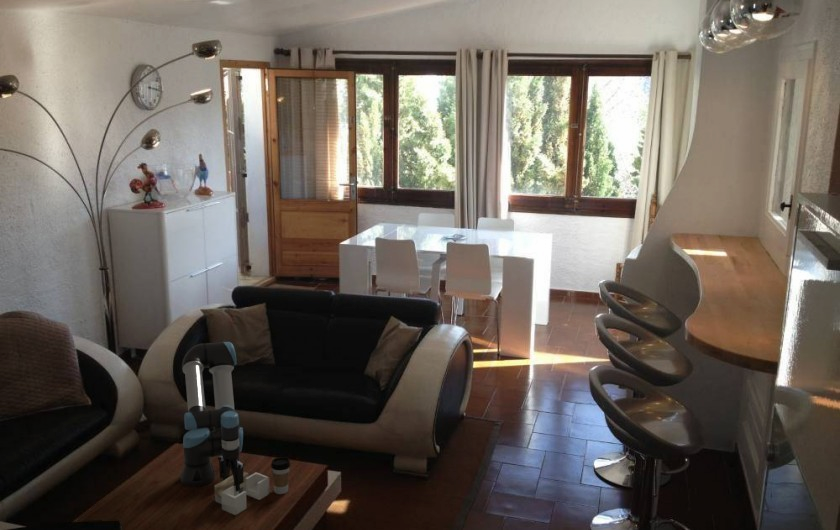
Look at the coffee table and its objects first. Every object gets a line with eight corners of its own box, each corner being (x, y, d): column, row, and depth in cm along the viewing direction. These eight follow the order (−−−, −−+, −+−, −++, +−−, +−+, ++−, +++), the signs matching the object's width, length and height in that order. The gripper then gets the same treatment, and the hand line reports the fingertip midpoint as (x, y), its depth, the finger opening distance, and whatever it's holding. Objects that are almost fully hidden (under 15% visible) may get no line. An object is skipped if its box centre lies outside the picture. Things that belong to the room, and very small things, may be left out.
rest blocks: (215, 501, 325) (215, 495, 324) (240, 486, 338) (240, 480, 337) (223, 504, 323) (223, 498, 322) (248, 489, 335) (248, 483, 334)
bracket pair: (221, 509, 319) (221, 492, 317) (256, 488, 337) (255, 472, 335) (235, 515, 315) (235, 498, 313) (269, 493, 333) (269, 477, 331)
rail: (214, 495, 324) (214, 485, 323) (241, 480, 337) (240, 470, 336) (222, 499, 322) (221, 488, 320) (248, 483, 335) (248, 473, 334)
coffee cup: (286, 496, 330) (286, 466, 327) (268, 494, 332) (268, 463, 329) (293, 487, 338) (293, 457, 335) (275, 484, 340) (275, 454, 337)
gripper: (209, 444, 326) (211, 493, 331) (239, 455, 317) (240, 504, 322) (222, 438, 332) (224, 485, 338) (251, 448, 323) (252, 497, 329)
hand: (232, 495), depth 330 cm, fingers closed on rail, 4 cm apart
